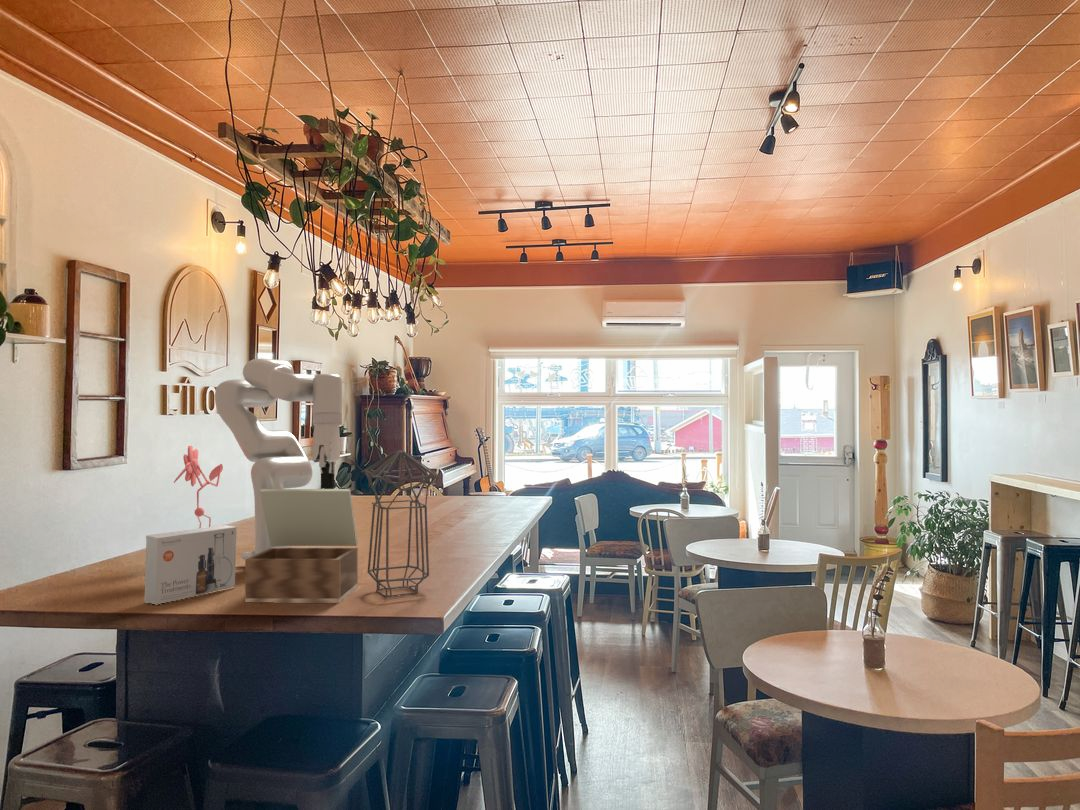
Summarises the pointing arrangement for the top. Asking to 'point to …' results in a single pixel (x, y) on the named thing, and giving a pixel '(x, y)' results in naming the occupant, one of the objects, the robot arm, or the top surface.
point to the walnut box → (301, 575)
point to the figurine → (195, 471)
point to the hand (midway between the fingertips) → (327, 488)
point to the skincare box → (189, 563)
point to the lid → (309, 517)
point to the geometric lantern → (386, 462)
